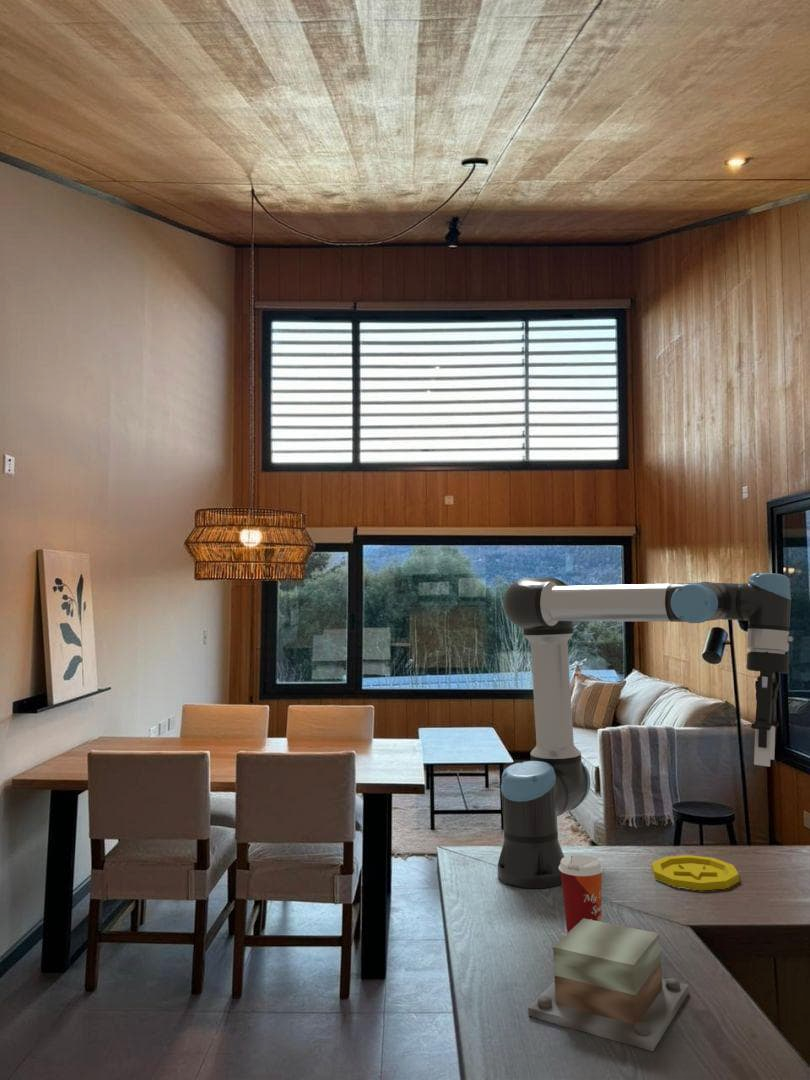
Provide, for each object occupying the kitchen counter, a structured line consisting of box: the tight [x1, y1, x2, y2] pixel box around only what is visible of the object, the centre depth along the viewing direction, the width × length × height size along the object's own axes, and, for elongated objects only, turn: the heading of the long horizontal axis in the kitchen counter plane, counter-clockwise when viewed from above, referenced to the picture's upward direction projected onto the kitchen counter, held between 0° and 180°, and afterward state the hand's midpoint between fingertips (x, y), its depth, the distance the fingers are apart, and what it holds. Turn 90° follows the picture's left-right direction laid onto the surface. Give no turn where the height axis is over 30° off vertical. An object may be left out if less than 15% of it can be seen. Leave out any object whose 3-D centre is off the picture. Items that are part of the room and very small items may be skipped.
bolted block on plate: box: [527, 918, 690, 1052], centre depth 118 cm, size 18×18×9 cm
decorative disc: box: [651, 854, 740, 891], centre depth 169 cm, size 17×18×2 cm
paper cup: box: [559, 854, 604, 934], centre depth 140 cm, size 8×8×14 cm
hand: (764, 762), depth 155 cm, fingers open, 13 cm apart
